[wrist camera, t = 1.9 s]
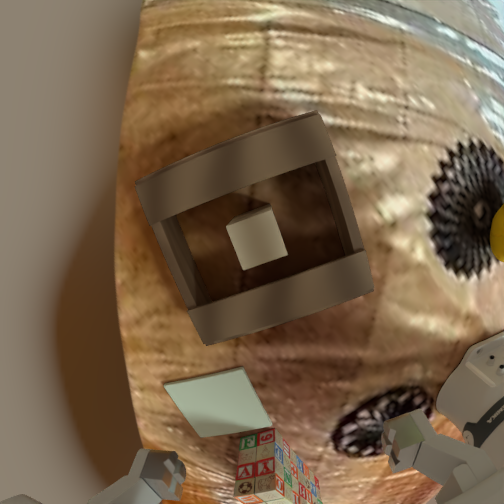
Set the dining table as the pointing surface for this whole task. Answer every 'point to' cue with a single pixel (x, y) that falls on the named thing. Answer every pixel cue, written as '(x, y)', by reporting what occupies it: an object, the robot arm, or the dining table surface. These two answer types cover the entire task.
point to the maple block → (256, 237)
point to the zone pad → (219, 403)
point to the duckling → (498, 234)
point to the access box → (239, 176)
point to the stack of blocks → (273, 473)
